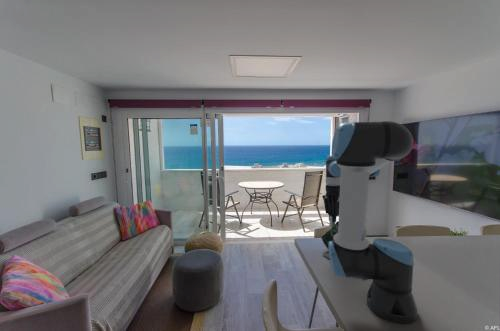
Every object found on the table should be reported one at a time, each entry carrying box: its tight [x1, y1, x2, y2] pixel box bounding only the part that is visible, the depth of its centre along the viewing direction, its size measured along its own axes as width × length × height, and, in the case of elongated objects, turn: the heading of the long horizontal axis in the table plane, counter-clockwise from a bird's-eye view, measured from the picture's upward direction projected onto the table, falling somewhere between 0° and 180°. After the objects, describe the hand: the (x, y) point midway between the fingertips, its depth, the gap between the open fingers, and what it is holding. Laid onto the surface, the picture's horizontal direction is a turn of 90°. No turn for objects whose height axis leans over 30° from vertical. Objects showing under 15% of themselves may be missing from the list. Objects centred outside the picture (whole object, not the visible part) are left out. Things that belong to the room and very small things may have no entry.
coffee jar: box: [320, 220, 339, 250], centre depth 120 cm, size 10×8×19 cm
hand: (332, 227), depth 123 cm, fingers closed
